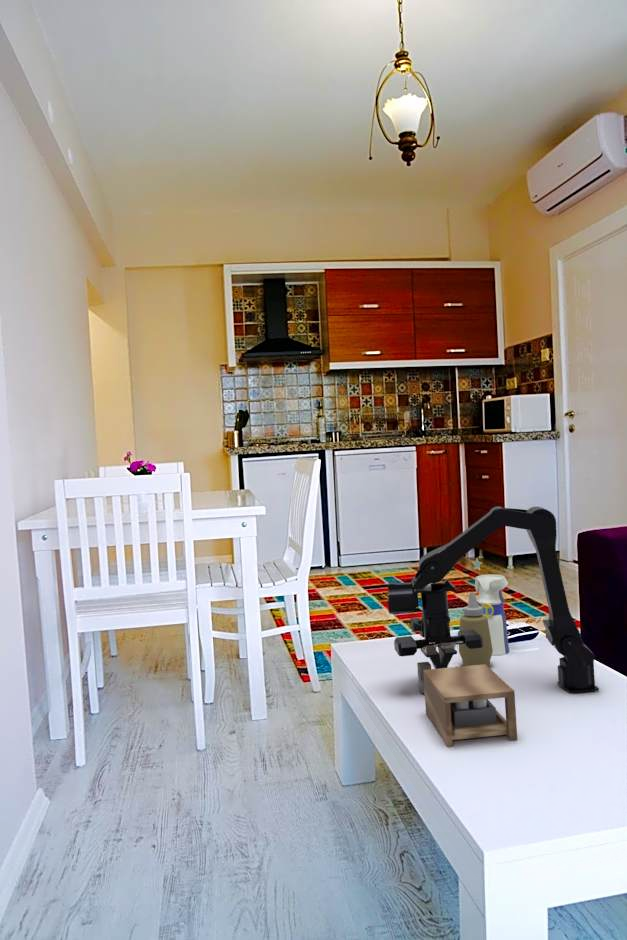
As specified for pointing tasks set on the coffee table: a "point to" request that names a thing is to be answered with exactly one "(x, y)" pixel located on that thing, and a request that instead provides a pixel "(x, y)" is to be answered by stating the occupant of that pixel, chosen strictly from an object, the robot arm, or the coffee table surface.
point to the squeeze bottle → (478, 623)
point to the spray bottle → (493, 608)
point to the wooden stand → (464, 695)
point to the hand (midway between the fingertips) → (440, 680)
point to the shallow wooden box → (471, 730)
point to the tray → (473, 713)
